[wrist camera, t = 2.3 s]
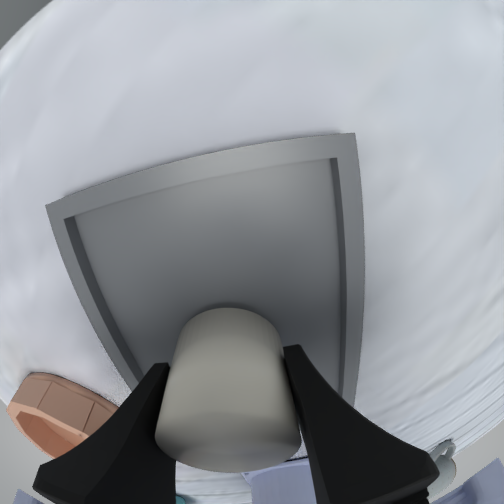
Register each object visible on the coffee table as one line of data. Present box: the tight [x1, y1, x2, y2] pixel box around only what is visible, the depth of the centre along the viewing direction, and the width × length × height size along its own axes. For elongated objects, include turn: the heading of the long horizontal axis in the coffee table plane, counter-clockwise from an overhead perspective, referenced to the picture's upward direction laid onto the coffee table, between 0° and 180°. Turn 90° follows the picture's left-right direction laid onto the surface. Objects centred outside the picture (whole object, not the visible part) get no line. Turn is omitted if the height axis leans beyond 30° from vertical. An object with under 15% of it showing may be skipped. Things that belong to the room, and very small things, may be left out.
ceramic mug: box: [427, 441, 456, 500], centre depth 21 cm, size 11×8×8 cm
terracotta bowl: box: [6, 372, 119, 459], centre depth 15 cm, size 13×13×4 cm
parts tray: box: [45, 133, 365, 429], centre depth 12 cm, size 16×12×1 cm
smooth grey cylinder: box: [155, 308, 302, 473], centre depth 9 cm, size 5×5×5 cm
